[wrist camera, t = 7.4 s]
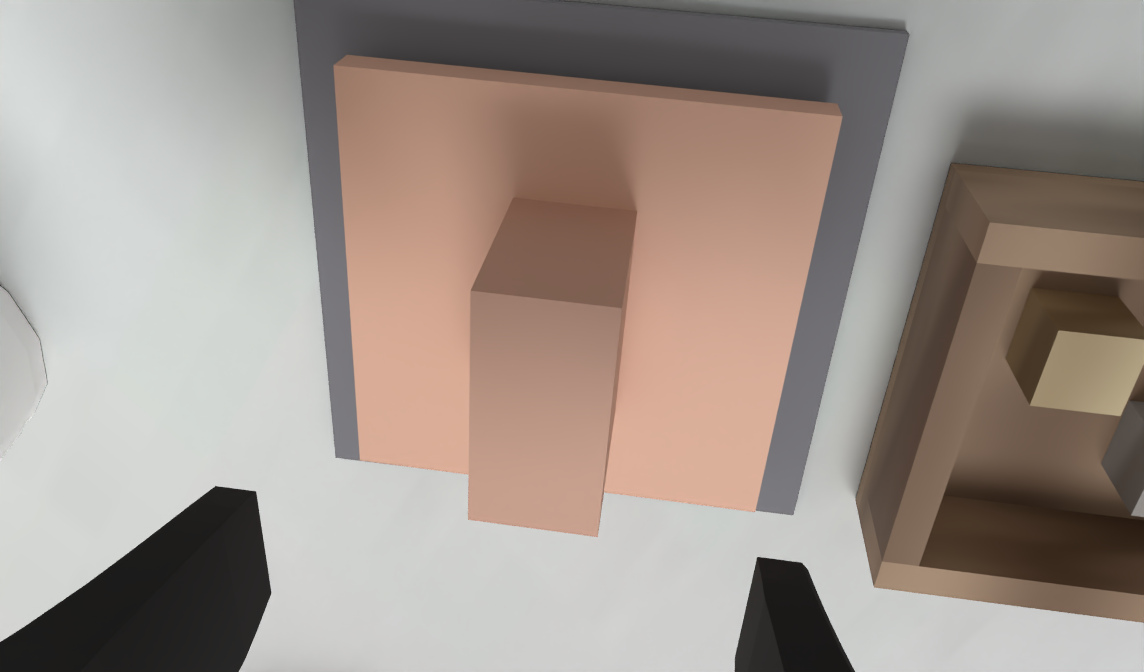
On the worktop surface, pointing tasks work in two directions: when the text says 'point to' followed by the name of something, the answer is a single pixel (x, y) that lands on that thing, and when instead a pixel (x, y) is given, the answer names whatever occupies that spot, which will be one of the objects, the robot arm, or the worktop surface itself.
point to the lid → (574, 281)
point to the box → (1018, 401)
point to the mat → (632, 55)
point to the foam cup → (17, 372)
